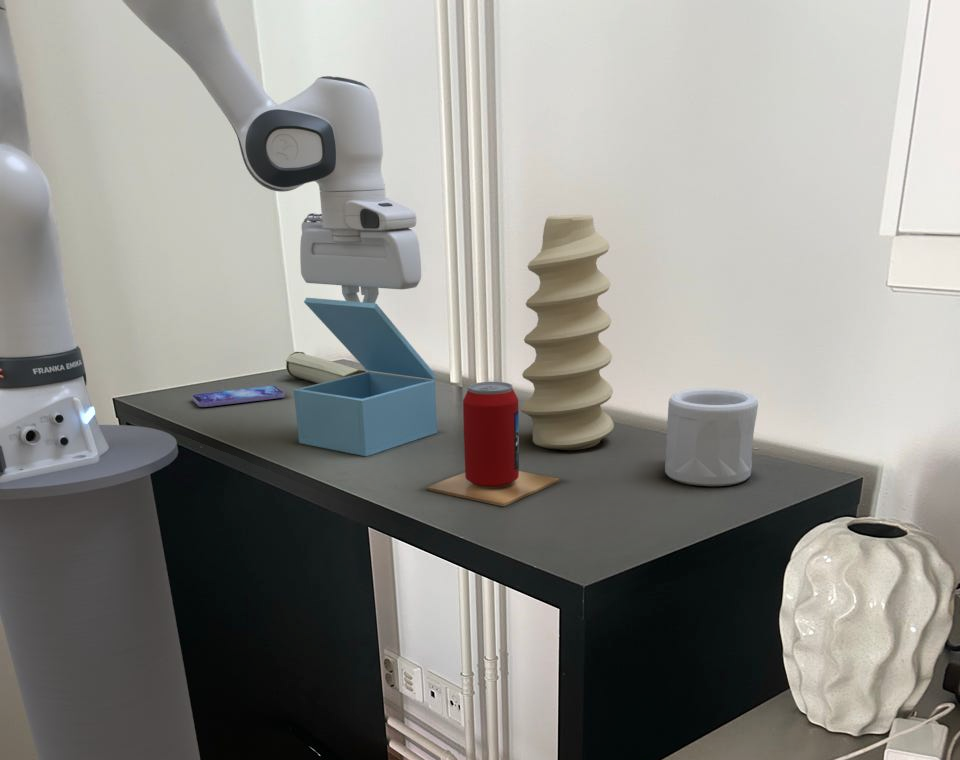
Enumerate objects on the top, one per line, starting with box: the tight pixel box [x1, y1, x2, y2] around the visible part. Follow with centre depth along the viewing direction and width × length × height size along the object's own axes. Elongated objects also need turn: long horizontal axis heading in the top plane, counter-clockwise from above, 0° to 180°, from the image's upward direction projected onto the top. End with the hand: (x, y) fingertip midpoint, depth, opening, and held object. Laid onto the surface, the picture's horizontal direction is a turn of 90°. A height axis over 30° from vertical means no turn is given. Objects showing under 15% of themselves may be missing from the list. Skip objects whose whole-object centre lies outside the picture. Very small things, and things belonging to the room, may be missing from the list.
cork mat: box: [426, 470, 561, 508], centre depth 125 cm, size 12×12×1 cm
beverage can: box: [462, 381, 520, 488], centre depth 122 cm, size 7×7×12 cm
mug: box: [664, 388, 759, 487], centre depth 125 cm, size 14×11×10 cm
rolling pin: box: [285, 351, 367, 384], centre depth 180 cm, size 32×6×5 cm, turn 34°
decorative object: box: [520, 214, 615, 451], centre depth 137 cm, size 13×13×30 cm
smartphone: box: [191, 384, 285, 408], centre depth 174 cm, size 7×1×15 cm
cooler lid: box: [303, 297, 437, 380], centre depth 143 cm, size 16×14×1 cm
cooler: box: [293, 371, 438, 457], centre depth 146 cm, size 16×14×8 cm
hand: (362, 319), depth 141 cm, fingers closed, pressing on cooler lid
